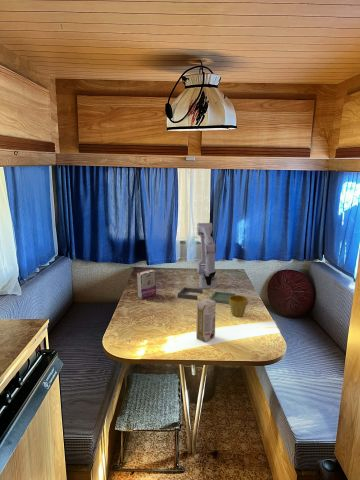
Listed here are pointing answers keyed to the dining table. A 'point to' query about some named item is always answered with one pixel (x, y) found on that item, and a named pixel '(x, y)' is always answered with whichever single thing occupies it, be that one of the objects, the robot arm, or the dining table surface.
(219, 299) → the tray
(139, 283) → the candy bar box
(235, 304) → the plant pot
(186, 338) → the dining table surface
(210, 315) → the juice carton
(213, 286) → the grey upright block
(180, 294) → the frame
